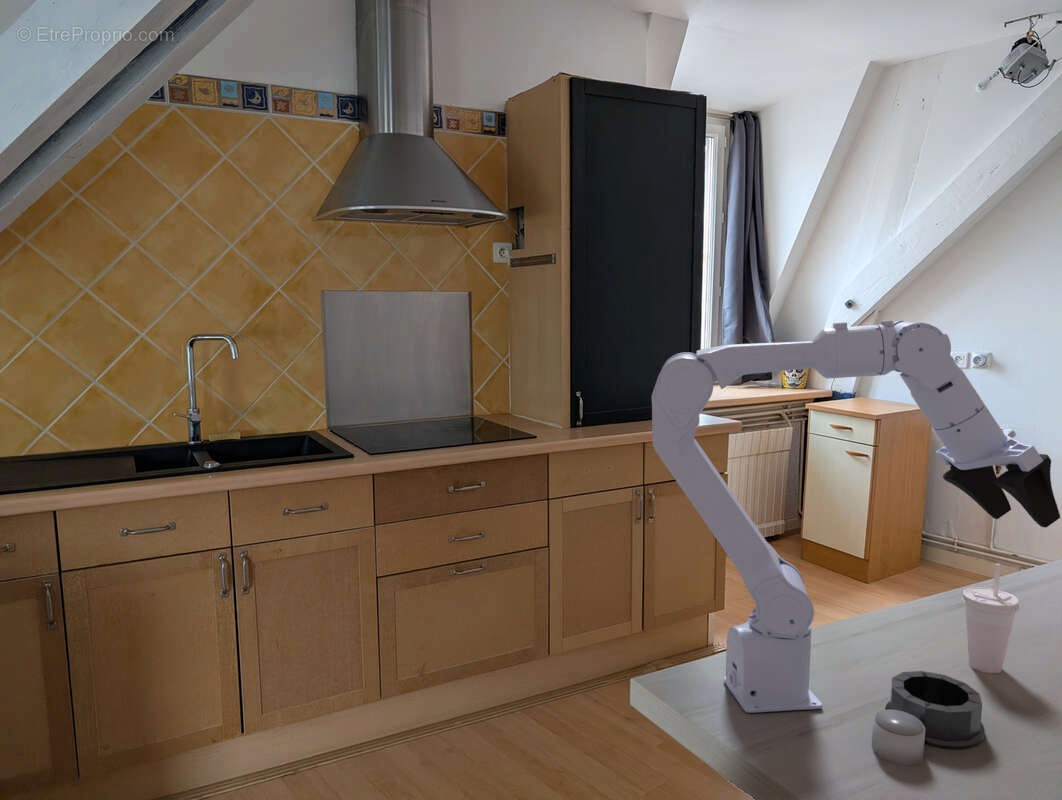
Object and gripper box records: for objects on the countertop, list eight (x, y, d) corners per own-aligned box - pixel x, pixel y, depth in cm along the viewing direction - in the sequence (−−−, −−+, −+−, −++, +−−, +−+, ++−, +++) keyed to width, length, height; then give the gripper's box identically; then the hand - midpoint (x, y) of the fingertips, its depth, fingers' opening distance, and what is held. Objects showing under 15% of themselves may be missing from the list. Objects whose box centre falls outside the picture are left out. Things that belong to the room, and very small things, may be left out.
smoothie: (1022, 680, 96) (1031, 574, 94) (967, 676, 97) (974, 571, 95) (1002, 657, 102) (1010, 557, 100) (950, 653, 103) (957, 554, 101)
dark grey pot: (917, 752, 81) (920, 717, 80) (868, 702, 91) (869, 671, 90) (1005, 746, 82) (1008, 711, 81) (946, 698, 92) (949, 667, 91)
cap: (888, 767, 79) (890, 735, 78) (862, 739, 83) (864, 709, 83) (933, 764, 79) (935, 733, 79) (905, 737, 84) (907, 707, 83)
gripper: (1032, 393, 77) (1106, 504, 77) (947, 399, 92) (1009, 492, 92) (978, 431, 77) (1052, 542, 77) (901, 431, 91) (963, 525, 91)
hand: (1025, 518), depth 84 cm, fingers open, 7 cm apart
